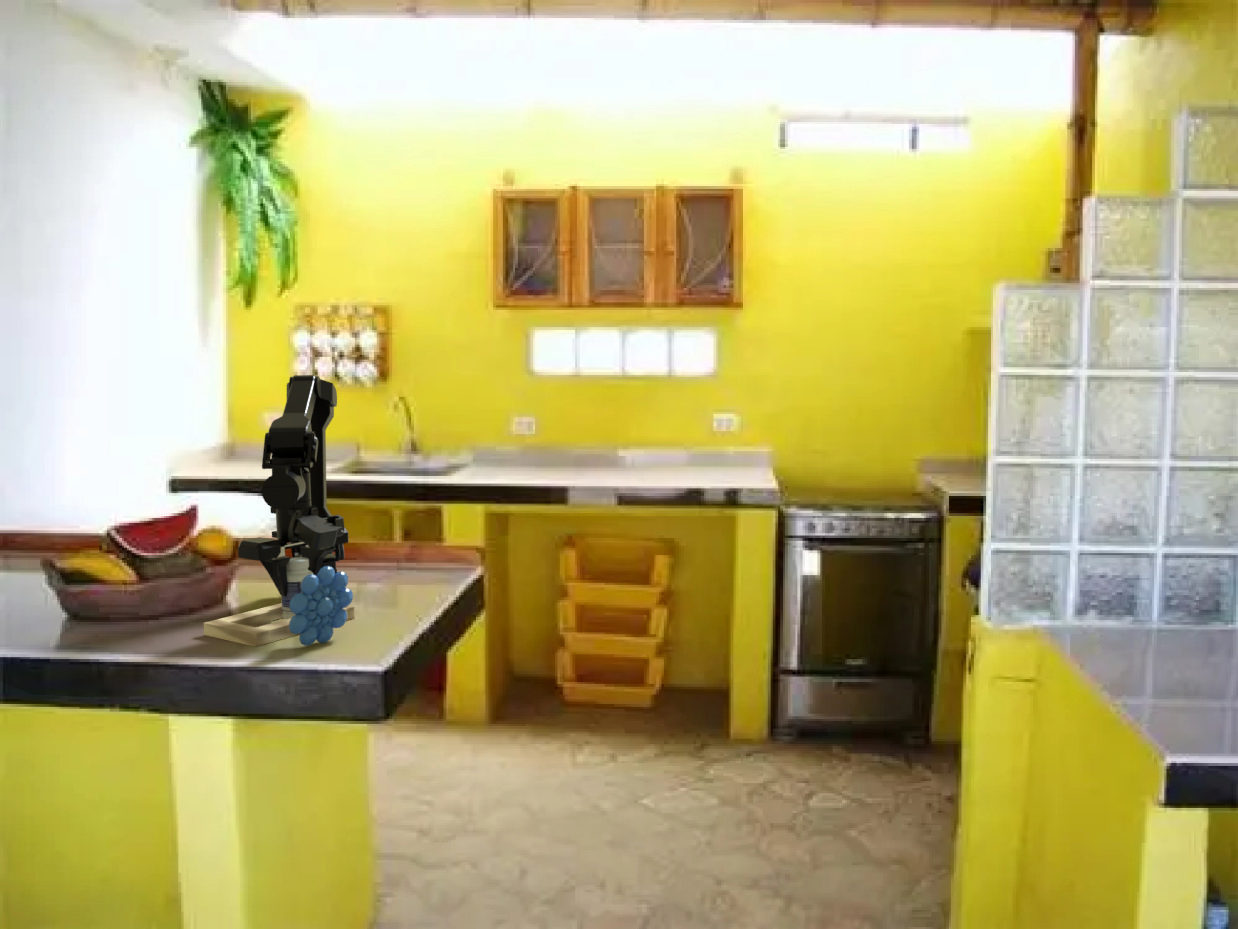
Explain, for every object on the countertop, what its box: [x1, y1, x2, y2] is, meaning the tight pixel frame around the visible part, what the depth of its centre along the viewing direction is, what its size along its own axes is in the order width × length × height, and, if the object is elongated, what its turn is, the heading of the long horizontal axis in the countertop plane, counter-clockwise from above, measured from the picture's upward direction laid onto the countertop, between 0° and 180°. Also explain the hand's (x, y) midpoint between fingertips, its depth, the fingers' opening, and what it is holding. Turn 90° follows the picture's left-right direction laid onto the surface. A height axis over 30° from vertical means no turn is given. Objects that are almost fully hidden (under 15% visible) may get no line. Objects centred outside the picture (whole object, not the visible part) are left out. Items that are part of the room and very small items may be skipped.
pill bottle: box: [280, 557, 313, 620], centre depth 178 cm, size 5×5×10 cm
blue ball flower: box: [289, 566, 354, 647], centre depth 165 cm, size 12×7×12 cm, turn 142°
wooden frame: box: [203, 602, 356, 647], centre depth 176 cm, size 20×13×2 cm, turn 146°
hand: (297, 592), depth 178 cm, fingers closed on pill bottle, 5 cm apart
